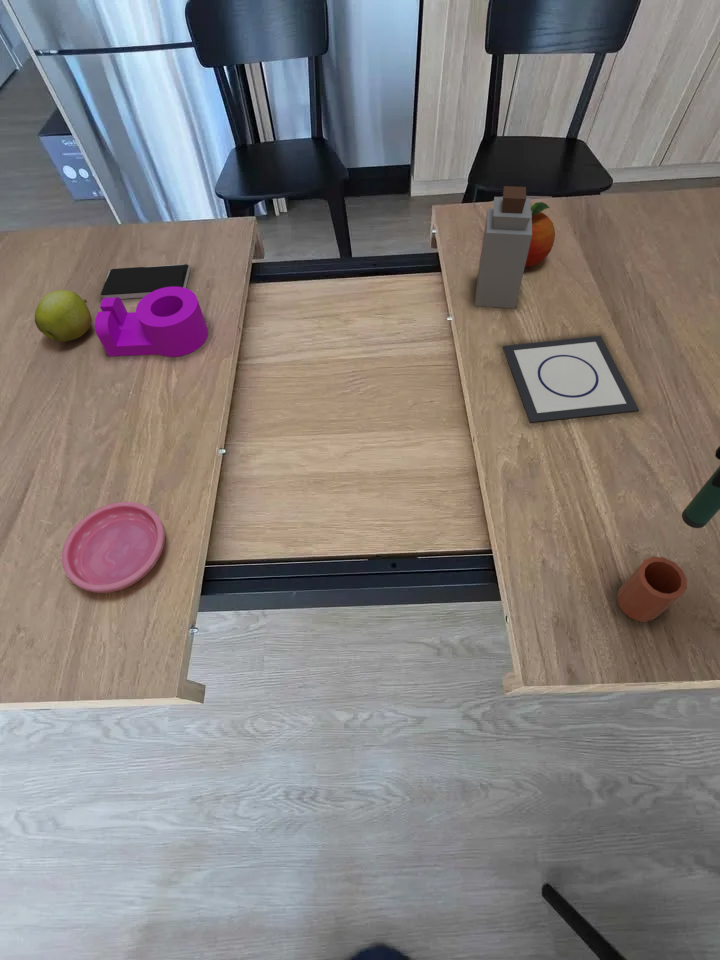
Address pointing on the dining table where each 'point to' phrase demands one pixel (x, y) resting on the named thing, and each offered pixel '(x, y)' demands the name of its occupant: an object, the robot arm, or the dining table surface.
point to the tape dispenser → (153, 324)
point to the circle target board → (568, 379)
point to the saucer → (113, 547)
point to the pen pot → (651, 589)
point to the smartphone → (143, 280)
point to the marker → (703, 505)
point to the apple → (62, 316)
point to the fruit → (540, 235)
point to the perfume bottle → (504, 249)
